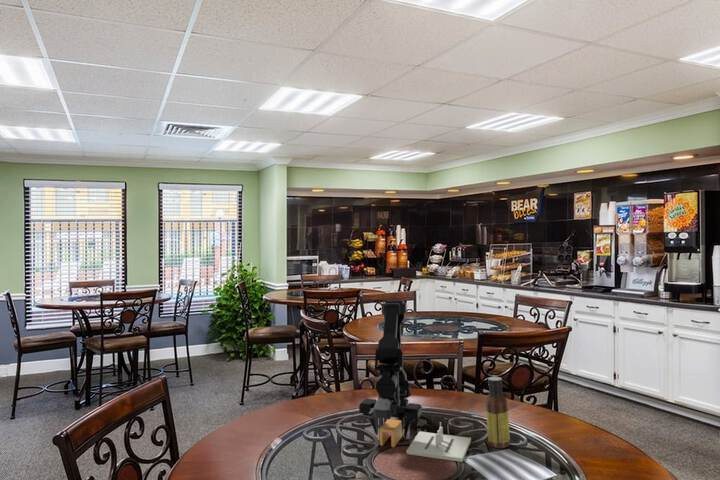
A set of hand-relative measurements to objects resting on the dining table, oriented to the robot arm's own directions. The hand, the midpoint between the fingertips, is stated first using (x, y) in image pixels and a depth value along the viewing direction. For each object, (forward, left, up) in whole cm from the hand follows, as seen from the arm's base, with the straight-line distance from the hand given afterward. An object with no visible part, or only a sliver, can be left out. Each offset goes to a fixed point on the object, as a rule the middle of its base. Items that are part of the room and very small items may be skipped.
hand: (391, 436), depth 155 cm
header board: (+15, 0, -1) cm, 15 cm away
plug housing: (0, 0, -2) cm, 2 cm away
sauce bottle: (+31, +7, -2) cm, 32 cm away
